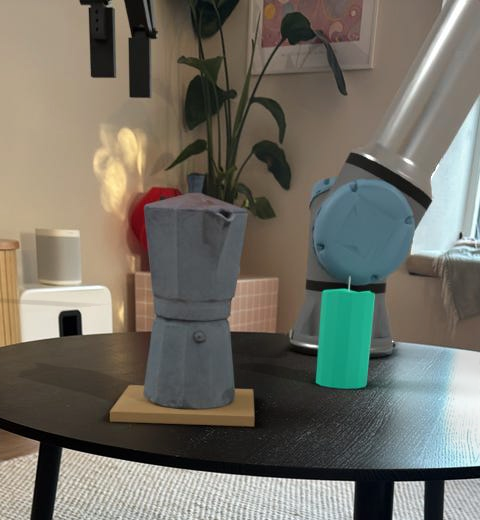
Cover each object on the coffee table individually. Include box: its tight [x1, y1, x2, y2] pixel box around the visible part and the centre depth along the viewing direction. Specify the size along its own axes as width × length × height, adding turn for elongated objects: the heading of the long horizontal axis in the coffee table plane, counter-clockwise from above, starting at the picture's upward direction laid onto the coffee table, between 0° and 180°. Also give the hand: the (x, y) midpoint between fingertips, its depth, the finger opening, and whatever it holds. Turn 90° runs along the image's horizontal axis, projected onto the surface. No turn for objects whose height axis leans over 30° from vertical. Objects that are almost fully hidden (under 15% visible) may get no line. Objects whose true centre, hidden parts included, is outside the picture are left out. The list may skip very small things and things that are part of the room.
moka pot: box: [143, 171, 249, 409], centre depth 69 cm, size 10×15×20 cm, turn 34°
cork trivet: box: [109, 384, 255, 428], centre depth 73 cm, size 13×12×1 cm
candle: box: [315, 277, 375, 390], centre depth 86 cm, size 6×6×12 cm
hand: (123, 88), depth 90 cm, fingers open, 13 cm apart
